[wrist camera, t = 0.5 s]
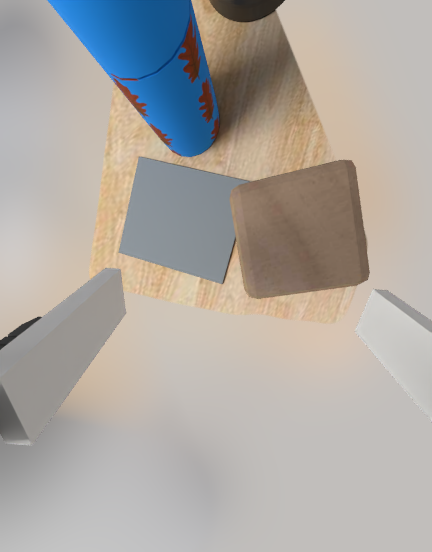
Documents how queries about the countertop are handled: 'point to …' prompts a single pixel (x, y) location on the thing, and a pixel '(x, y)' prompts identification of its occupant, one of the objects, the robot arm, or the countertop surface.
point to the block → (300, 231)
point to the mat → (180, 219)
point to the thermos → (152, 64)
